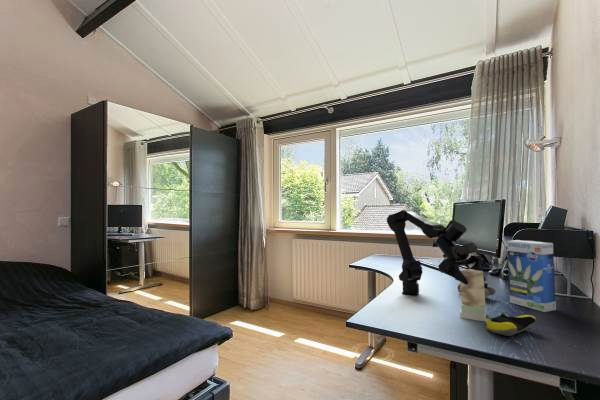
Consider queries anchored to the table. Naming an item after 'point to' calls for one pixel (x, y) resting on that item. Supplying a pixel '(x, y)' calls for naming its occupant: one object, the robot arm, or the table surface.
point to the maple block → (473, 288)
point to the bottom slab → (473, 316)
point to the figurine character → (487, 289)
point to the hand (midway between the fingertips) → (476, 282)
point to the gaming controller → (510, 324)
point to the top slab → (473, 309)
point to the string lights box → (531, 274)
